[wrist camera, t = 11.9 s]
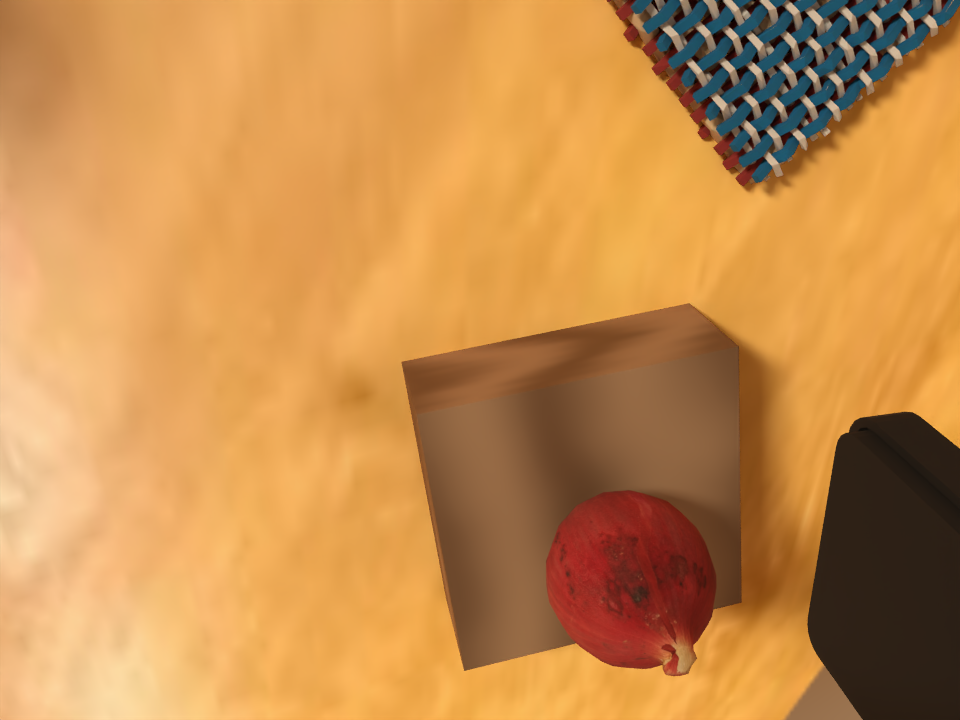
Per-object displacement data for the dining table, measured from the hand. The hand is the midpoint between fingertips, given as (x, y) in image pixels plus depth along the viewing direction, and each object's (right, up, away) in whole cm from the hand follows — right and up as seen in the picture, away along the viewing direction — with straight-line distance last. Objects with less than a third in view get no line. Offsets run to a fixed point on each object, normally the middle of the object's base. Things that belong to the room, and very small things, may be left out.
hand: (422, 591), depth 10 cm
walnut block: (+4, -2, +30) cm, 30 cm away
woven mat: (+11, +16, +24) cm, 31 cm away
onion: (+5, -4, +26) cm, 26 cm away
